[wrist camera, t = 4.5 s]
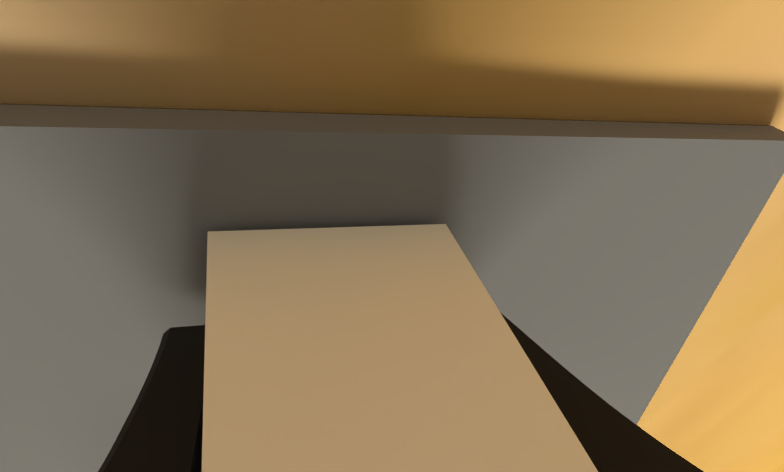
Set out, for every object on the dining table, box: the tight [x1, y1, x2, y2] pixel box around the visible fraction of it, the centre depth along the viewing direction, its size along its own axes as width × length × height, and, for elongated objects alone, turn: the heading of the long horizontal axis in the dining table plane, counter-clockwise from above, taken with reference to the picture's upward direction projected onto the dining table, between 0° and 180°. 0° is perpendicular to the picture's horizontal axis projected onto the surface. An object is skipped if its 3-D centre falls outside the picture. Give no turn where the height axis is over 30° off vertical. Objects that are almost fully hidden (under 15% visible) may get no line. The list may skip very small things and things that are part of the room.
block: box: [202, 224, 598, 472], centre depth 9 cm, size 4×5×5 cm
